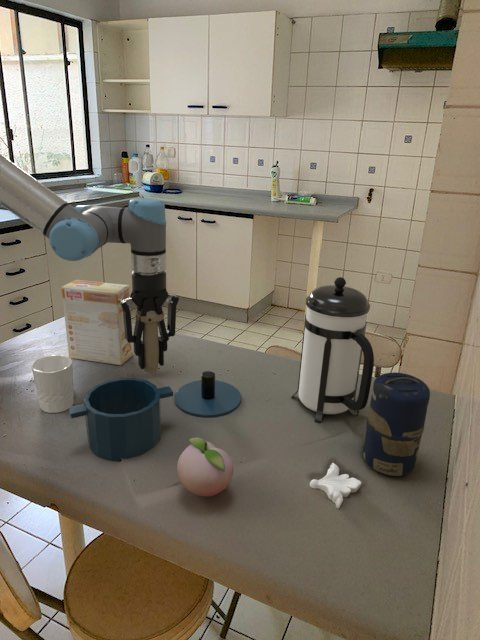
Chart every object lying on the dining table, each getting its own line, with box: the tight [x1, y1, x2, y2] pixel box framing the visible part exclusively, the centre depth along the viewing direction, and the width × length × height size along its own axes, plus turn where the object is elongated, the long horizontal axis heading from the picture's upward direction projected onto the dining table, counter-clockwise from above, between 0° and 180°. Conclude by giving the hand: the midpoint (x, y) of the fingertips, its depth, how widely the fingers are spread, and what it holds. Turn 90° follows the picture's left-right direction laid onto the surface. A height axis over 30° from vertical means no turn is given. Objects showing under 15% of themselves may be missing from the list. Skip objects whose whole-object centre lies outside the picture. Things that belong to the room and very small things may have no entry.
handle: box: [135, 310, 165, 374], centre depth 109 cm, size 5×6×15 cm
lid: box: [174, 370, 242, 418], centre depth 102 cm, size 15×15×7 cm
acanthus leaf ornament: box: [309, 462, 362, 510], centre depth 79 cm, size 8×7×2 cm
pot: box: [68, 377, 174, 462], centre depth 88 cm, size 14×19×10 cm
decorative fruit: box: [176, 437, 235, 497], centre depth 75 cm, size 9×8×10 cm
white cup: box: [31, 354, 75, 414], centre depth 98 cm, size 8×8×10 cm
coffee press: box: [291, 276, 375, 424], centre depth 96 cm, size 17×16×30 cm
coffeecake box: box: [61, 279, 134, 366], centre depth 118 cm, size 15×7×20 cm, turn 77°
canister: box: [362, 372, 431, 477], centre depth 83 cm, size 10×10×18 cm
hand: (151, 364), depth 111 cm, fingers closed on handle, 4 cm apart
